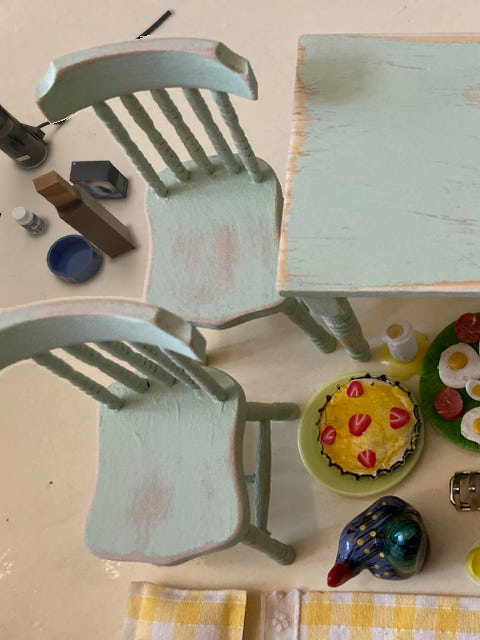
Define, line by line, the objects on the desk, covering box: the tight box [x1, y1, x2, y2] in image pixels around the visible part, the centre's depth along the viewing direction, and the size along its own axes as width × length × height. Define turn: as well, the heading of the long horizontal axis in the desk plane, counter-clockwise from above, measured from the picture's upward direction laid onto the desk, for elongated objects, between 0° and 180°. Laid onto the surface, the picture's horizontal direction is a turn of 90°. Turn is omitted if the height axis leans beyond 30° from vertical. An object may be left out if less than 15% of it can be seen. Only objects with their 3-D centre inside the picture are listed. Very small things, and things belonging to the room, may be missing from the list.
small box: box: [68, 159, 129, 200], centre depth 192 cm, size 11×6×10 cm, turn 91°
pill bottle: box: [10, 205, 47, 235], centre depth 190 cm, size 5×5×8 cm
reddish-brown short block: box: [31, 169, 82, 212], centre depth 164 cm, size 4×6×9 cm, turn 118°
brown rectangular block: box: [55, 183, 137, 259], centre depth 180 cm, size 7×7×24 cm
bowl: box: [46, 233, 103, 284], centre depth 188 cm, size 13×13×4 cm
